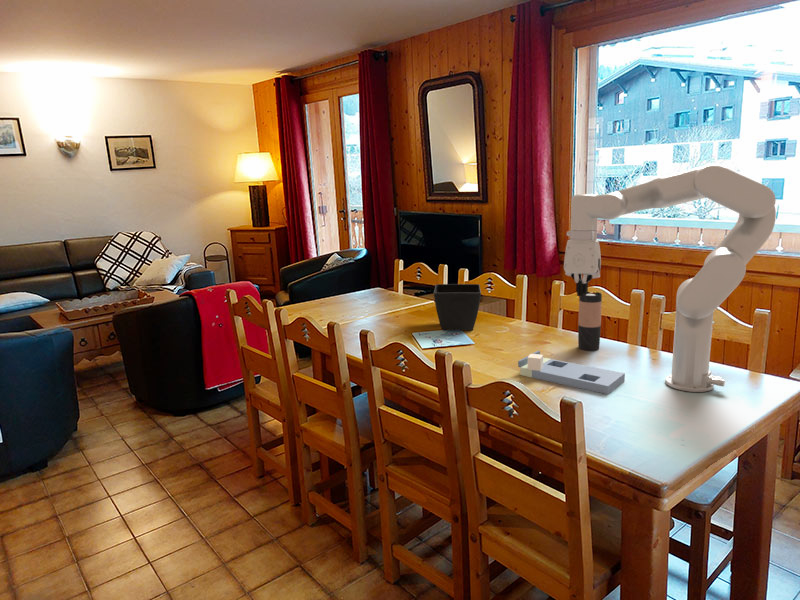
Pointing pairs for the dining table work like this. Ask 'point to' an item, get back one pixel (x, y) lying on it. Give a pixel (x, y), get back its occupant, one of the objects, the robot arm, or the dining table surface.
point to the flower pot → (457, 305)
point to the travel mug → (589, 321)
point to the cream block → (535, 362)
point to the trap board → (574, 375)
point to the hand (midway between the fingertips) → (581, 295)
